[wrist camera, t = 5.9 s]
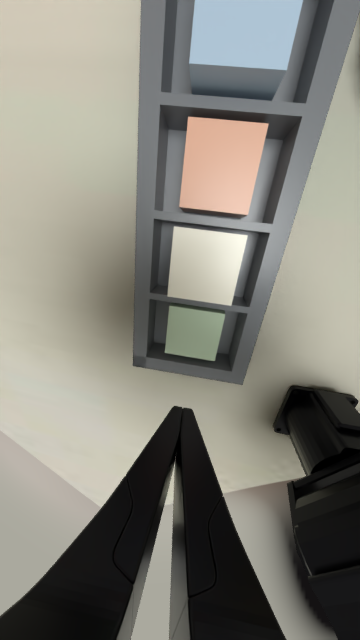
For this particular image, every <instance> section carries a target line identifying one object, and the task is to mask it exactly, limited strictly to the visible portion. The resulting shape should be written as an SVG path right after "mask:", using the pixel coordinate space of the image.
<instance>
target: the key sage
mask: <svg viewBox="0 0 360 640" xmlns="http://www.w3.org/2000/svg"><path fill="white" fill-rule="evenodd" d="M224 318H225V311H224V310H220V309H213V308H207V307H200V306H193V305H187V304H180V303H173V302H171V304H170V306H169V315H168V325H167V335H166V345H165V353H168V354H174V355H180V356H186V357H192V358H198V359H204V360H210V361H215V358H216V354H217V349H218V345H219V341H220V336H221V332H222V327H223V323H224Z"/></svg>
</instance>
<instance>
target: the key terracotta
mask: <svg viewBox="0 0 360 640" xmlns="http://www.w3.org/2000/svg"><path fill="white" fill-rule="evenodd" d="M267 129H268V123H256V122H245V121H233V120H222V119H211V118H199V117H188V124H187V134H186V144H185V154H184V164H183V174H182V184H181V194H180V204H179V207H180V208H181V210H182V211H183V212H191V213H200V214H208V215H217V216H225V217H233V218H243V217H245V216H247V215H248V213H249V208H250V204H251V199H252V195H253V191H254V186H255V182H256V177H257V173H258V168H259V164H260V160H261V155H262V151H263V146H264V142H265V138H266V133H267Z"/></svg>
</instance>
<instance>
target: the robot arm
mask: <svg viewBox="0 0 360 640" xmlns="http://www.w3.org/2000/svg"><path fill="white" fill-rule="evenodd" d="M294 391H295V392H294ZM357 404H358V400H357V399H356V398H355V397H354V396H351V395H345V394H341V393H335V392H329V391H323V390H316V389H310V388H304V387H299V386H292V387H291V388H290V389H289V391H288V393H287V396H286V398H285V400H284V402H283V405H282V407H281V409H280V411H279V414H278V416H277V418H276V420H275V423H274V425H273V428H274V431H275V432H277V433H282V434H287V435H289V436H290V439H291V441H292V444H293V446H294V448H295V451H296V453H297V455H298V458H299V460H300V462H301V465H302V467H303V470H304V472H305V474H306V476H305V477H303V478H301V479H299V480H297V481H295V482H294V481H291V482H289V483H287V486H288V495H289V502H290V510H291V517H292V525H293V533H294V539H295V544H296V550H297V553H298V555H299V557H300V559H301V562H302V564H303V566H304V569H305V571H306V573H307V575H308V581H309V584H310V586H311V588H312V589H313V591H314V593H315V594H316V596H317V598H318V600H319V601H320V603H321V605H322V606H323V608H324V611H325V613H326V615H327V617H328V619H329V621H330V623H331V625H332V627H333V629H334V631H335V633H336V636H337V638H338V640H360V414H359V413H358V411H357V410H356V409H355V407H356V405H357ZM175 457H176V459H175ZM174 463H175V473H174V503H173V533H172V563H171V564H172V565H171V594H170V595H171V596H170V624H169V640H286V638H285V636H284V634H283V632H282V630H281V628H280V626H279V624H278V622H277V619H276V617H275V615H274V613H273V611H272V609H271V607H270V604H269V602H268V600H267V598H266V596H265V594H264V591H263V589H262V587H261V585H260V582H259V580H258V578H257V576H256V574H255V572H254V569H253V567H252V565H251V563H250V561H249V559H248V556H247V554H246V552H245V549H244V547H243V545H242V542H241V540H240V538H239V536H238V533H237V531H236V528H235V526H234V523H233V521H232V518H231V515H230V513H229V510H228V507H227V505H226V502H225V499H224V497H222V496H223V494H222V491H221V488H220V485H219V482H218V480H217V477H216V474H215V471H214V469H213V466H212V463H211V460H210V457H209V455H208V452H207V449H206V446H205V443H204V441H203V438H202V435H201V432H200V429H199V427H198V424H197V421H196V418H195V415H194V413H193V410H192V409H189V408H182V407H178V406H173V408H172V409H171V410H170V412H169V413H168V415H167V416H166V418H165V419H164V421H163V422H162V423H161V425H160V426H159V428H158V429H157V431H156V432H155V433H154V435H153V436H152V438H151V439H150V441H149V442H148V444H147V445H146V446H145V448H144V449H143V451H142V452H141V454H140V455H139V457H138V458H137V459H136V461H135V462H134V464H133V465H132V467H131V468H130V469H129V471H128V472H127V474H126V476H125V477H124V478H123V479H122V481H121V482H120V484H119V485H118V487H117V488H116V489H115V491H114V492H113V493H112V495H111V496H110V497H109V499H108V500H107V502H106V503H105V504H104V505H103V507H102V508H101V509H100V510H99V512H98V513H97V514H96V515H95V516H94V518H93V519H92V520H91V521H90V522H89V524H88V525H87V526H86V527H85V528H84V530H83V531H82V532H81V533H80V534H79V535H78V537H77V538H76V539H75V540H74V541H73V543H72V544H71V545H70V546H69V547H68V548H67V549H66V551H65V552H64V553H63V554H62V555H61V557H60V558H59V559H58V560H57V561H56V562H55V564H54V565H53V566H52V567H51V568H50V569H49V570H48V572H47V573H46V574H45V575H44V576H43V577H42V578H41V579H40V580H39V581H38V582H37V583H36V585H34V586H33V587H32V588H31V589H30V591H28V593H26V594H25V595H24V596H23V597H22V598H21V599H20V600H19V601H17V602H16V603H15V604H14V605H13V606H12V607H10V608H9V609H8V610H7V611H6V612H4V613H3V614H2V615H1V616H0V640H131V635H132V632H133V628H134V624H135V619H136V616H137V612H138V608H139V604H140V600H141V596H142V592H143V588H144V584H145V580H146V576H147V572H148V568H149V564H150V560H151V556H152V552H153V548H154V544H155V540H156V536H157V532H158V528H159V524H160V520H161V515H162V512H163V508H164V504H165V500H166V496H167V492H168V488H169V484H170V480H171V476H172V472H173V468H174Z"/></svg>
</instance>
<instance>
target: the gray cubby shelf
mask: <svg viewBox="0 0 360 640" xmlns="http://www.w3.org/2000/svg"><path fill="white" fill-rule="evenodd" d="M194 5H195V0H141V29H140V73H139V118H138V162H137V206H136V250H135V294H134V338H133V366H136V367H142V368H148V369H154V370H159V371H165V372H171V373H177V374H182V375H188V376H194V377H200V378H206V379H211V380H217V381H223V382H229V383H234V384H240V385H242V384H243V381H244V378H245V375H246V372H247V368H248V365H249V362H250V359H251V356H252V353H253V349H254V346H255V343H256V340H257V337H258V333H259V330H260V327H261V324H262V321H263V317H264V314H265V311H266V308H267V305H268V302H269V298H270V295H271V292H272V289H273V286H274V282H275V279H276V276H277V273H278V270H279V266H280V263H281V260H282V257H283V254H284V251H285V247H286V244H287V241H288V238H289V235H290V231H291V228H292V225H293V222H294V219H295V215H296V212H297V209H298V206H299V203H300V200H301V196H302V193H303V190H304V187H305V184H306V180H307V177H308V174H309V171H310V168H311V164H312V161H313V158H314V155H315V152H316V149H317V145H318V142H319V139H320V136H321V133H322V129H323V126H324V123H325V120H326V117H327V114H328V110H329V107H330V104H331V101H332V98H333V94H334V91H335V88H336V85H337V82H338V78H339V75H340V72H341V69H342V66H343V63H344V59H345V56H346V53H347V50H348V47H349V43H350V40H351V37H352V34H353V31H354V27H355V24H356V21H357V18H358V15H359V12H360V0H303V3H302V7H301V12H300V16H299V20H298V24H297V29H296V33H295V37H294V41H293V46H292V50H291V54H290V58H289V63H288V67H287V71H286V73H285V75H284V77H283V79H282V81H281V83H280V85H279V87H278V89H277V91H276V93H275V95H274V97H273V99H272V101H268V100H255V99H243V98H230V97H218V96H205V95H193V94H192V89H191V79H190V68H189V59H190V48H191V37H192V27H193V16H194ZM188 117H199V118H211V119H222V120H233V121H245V122H256V123H268V129H267V133H266V138H265V142H264V146H263V151H262V155H261V160H260V164H259V168H258V173H257V177H256V182H255V186H254V191H253V195H252V199H251V204H250V208H249V213H248V215H247V216H245V217H243V218H233V217H225V216H217V215H208V214H200V213H191V212H183V211H182V210H181V208H180V207H179V204H180V194H181V184H182V174H183V164H184V154H185V144H186V134H187V124H188ZM174 226H176V227H184V228H192V229H200V230H208V231H217V232H225V233H233V234H241V235H248V237H247V241H246V245H245V250H244V254H243V258H242V262H241V267H240V271H239V275H238V279H237V284H236V288H235V292H234V296H233V301H232V305H231V306H229V305H222V304H215V303H208V302H202V301H195V300H188V299H181V298H175V297H168V296H167V295H168V284H169V273H170V263H171V252H172V241H173V230H174ZM171 302H173V303H180V304H187V305H193V306H200V307H207V308H213V309H220V310H224V311H225V318H224V323H223V327H222V332H221V336H220V341H219V345H218V349H217V354H216V358H215V361H210V360H204V359H198V358H192V357H186V356H180V355H174V354H168V353H165V345H166V335H167V325H168V315H169V306H170V304H171Z"/></svg>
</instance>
